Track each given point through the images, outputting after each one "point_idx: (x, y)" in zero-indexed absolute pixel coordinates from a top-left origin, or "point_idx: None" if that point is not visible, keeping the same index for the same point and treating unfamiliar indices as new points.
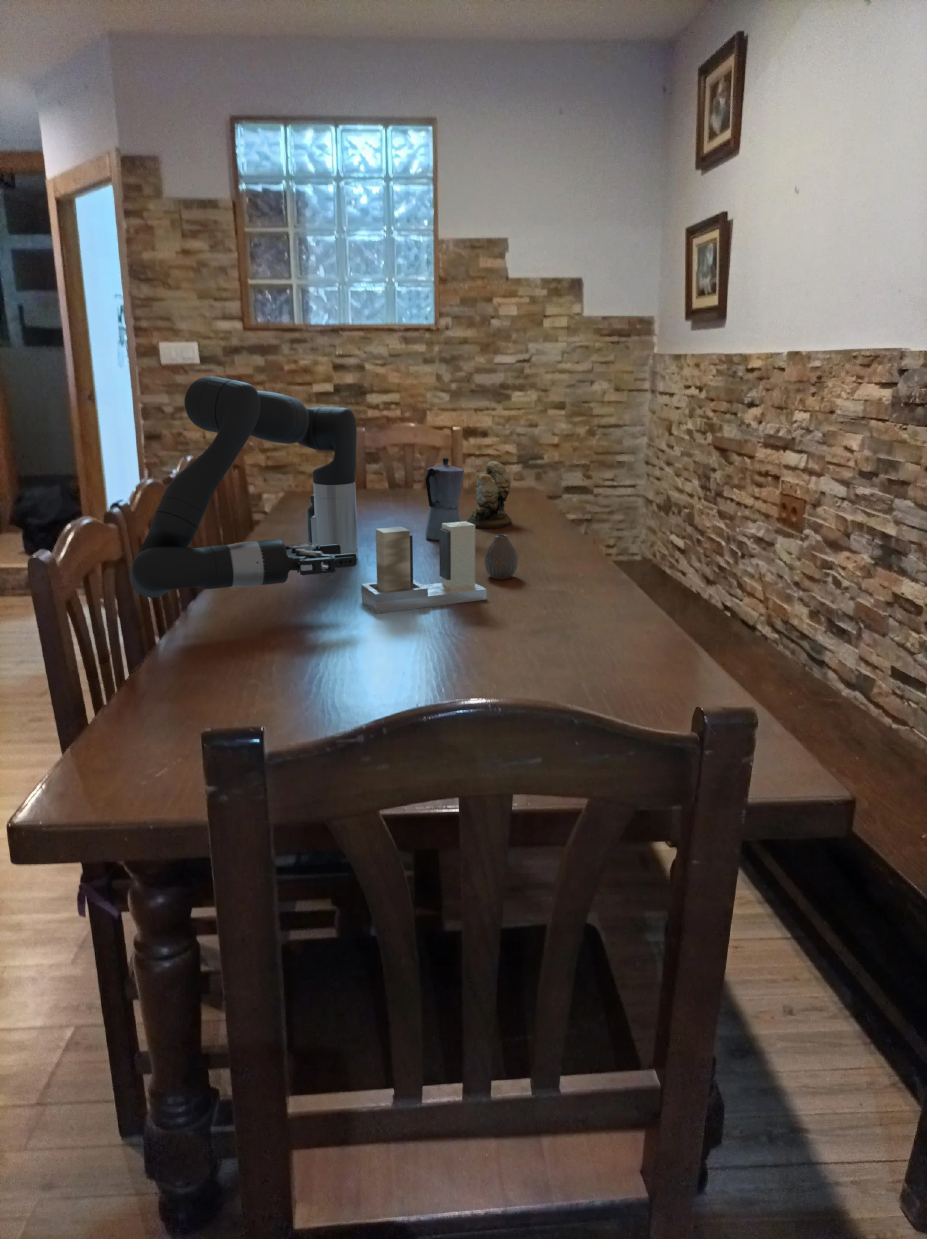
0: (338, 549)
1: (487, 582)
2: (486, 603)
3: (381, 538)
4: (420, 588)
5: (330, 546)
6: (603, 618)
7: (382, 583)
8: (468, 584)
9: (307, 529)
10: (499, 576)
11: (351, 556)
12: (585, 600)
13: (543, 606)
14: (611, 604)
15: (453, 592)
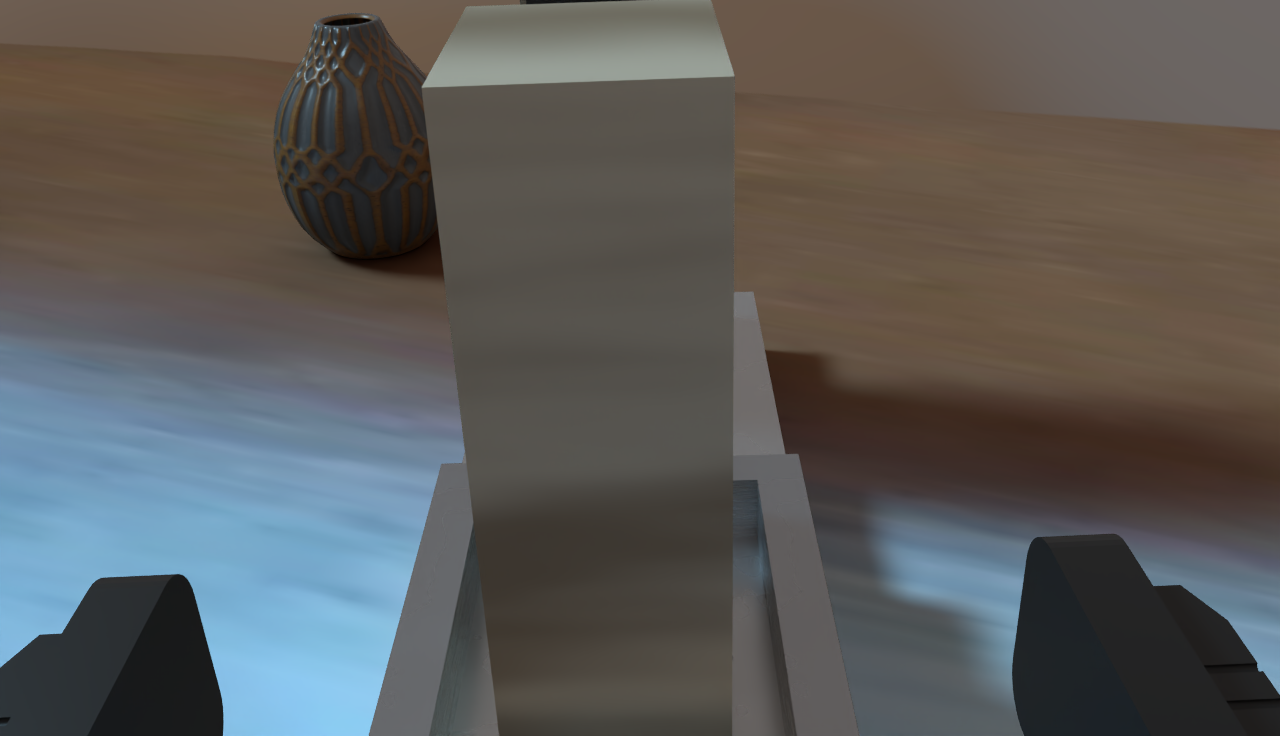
0: (194, 654)
1: (428, 284)
2: (829, 364)
3: (650, 171)
4: (784, 485)
5: (118, 713)
6: (1192, 191)
7: (660, 653)
8: None
9: None
10: (426, 233)
11: (1169, 611)
12: (907, 172)
13: (961, 252)
14: (988, 149)
15: (757, 395)
